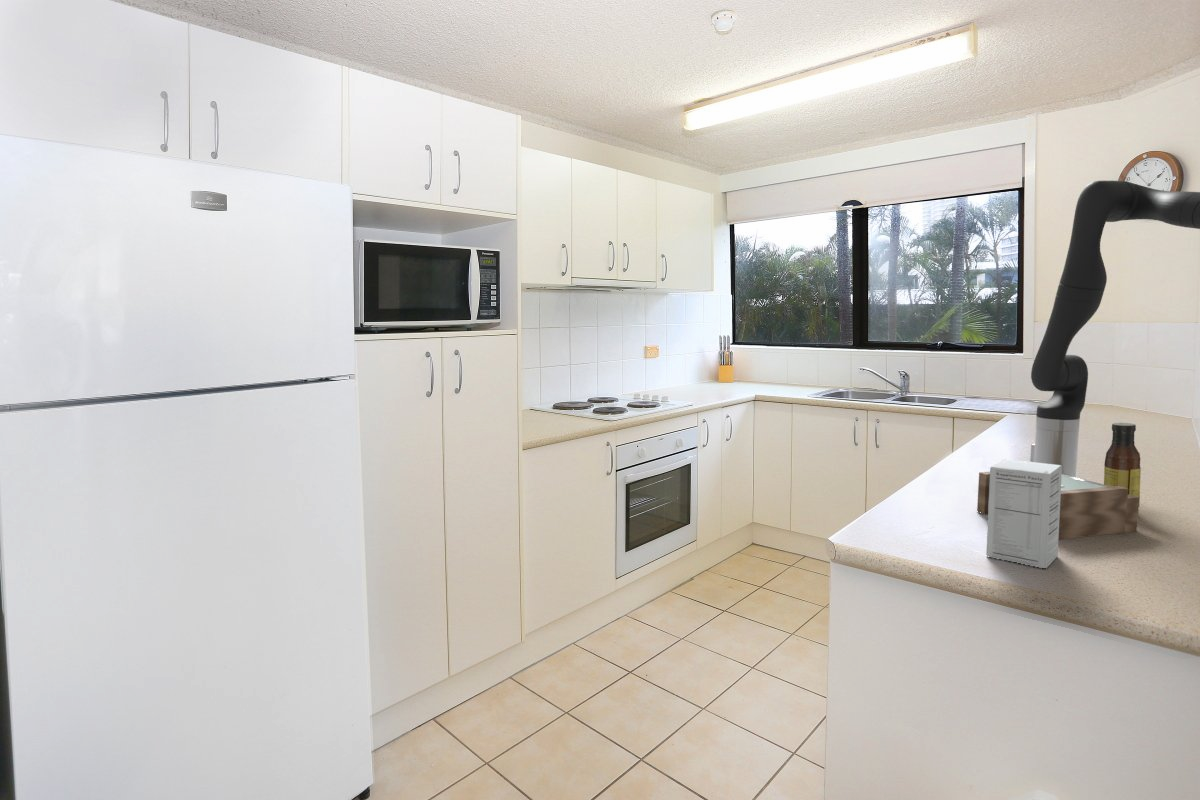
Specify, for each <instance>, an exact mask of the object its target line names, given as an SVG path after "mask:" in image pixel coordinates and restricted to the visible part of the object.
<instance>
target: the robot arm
mask: <svg viewBox="0 0 1200 800" xmlns="http://www.w3.org/2000/svg"><path fill="white" fill-rule="evenodd" d="M1133 220H1134V221H1135V220H1152V221H1153V220H1154V221H1158V222H1162V223H1165V224H1168V225H1170V226H1171V225H1172V226H1176V227H1181V228H1189V229H1198V230H1200V191H1169V190H1161V189H1156V188H1151V187H1147V186H1144V185H1140V184H1138V183H1133V182H1131V181H1128V180H1127V181H1125V180H1095V181H1092V182H1090V183H1088V184H1087V185H1086V186H1084V188H1083V189H1082V191H1081V192H1080V194H1079V197H1078V198H1077V201H1076V205H1075V210H1074V218H1073V221H1072V222H1073V223H1072V229H1071V235H1070V236H1071V237H1070V241H1069V246H1068V249H1067V254H1066V259H1065V262H1064V266H1063V270H1062V274H1061V277H1060V280H1059V282H1058V286H1057V291H1056V293H1055V297H1054V302H1053V306H1052V310H1051V313H1050V317H1049V319H1048V323H1047V327H1046V330H1045V332H1044V335H1043V338H1042V341H1041V343H1040V345H1039V347H1038V350H1037V353H1036V355H1035V358H1034V360H1033V363H1032V366H1031V373H1030V379H1031V382H1032V385H1033V386H1034V387H1035V389H1036V390H1038V391H1040V392H1053V393H1052V395H1051V398H1048V399H1047V401H1044V402H1043V403H1040V404H1039V405H1038V406H1037V408H1036V413H1035V414H1036V415H1035V432H1034V433H1035V434H1034V443H1032V444H1031V445H1030V446H1031V447H1030V458H1029V459H1030V460H1029V462H1036V463H1045V464H1054V465H1062V474H1063V475H1067V476H1071V477H1075V478H1077V468H1078V467H1077V465H1078V464H1077V463H1078V453H1079V438H1080V437H1079V436H1080V421H1081V413H1082V411H1083V409H1084V407H1085V402H1086V396H1087V389H1088V381H1089V368H1088V366H1087V365H1088V364H1087V362H1086V361H1085V360H1084V358H1082V357H1081V356H1080V355H1079V356H1078V355H1076V354H1067V352H1068V350H1069V347H1070V345H1071V342H1072V341H1073V339H1074V338H1075V336H1076V335H1077V334H1078V333H1079V332H1080V330H1081V329H1083V328H1084V326H1085V325H1086V324H1087V323H1088V322H1089V321H1090V320H1091V318H1093V316H1094V315H1095V314H1096V312H1097V311H1098V309H1099V308H1100V306H1101V304H1102V303H1101V302H1102V300H1103V295H1104V292H1105V289H1106V286H1107V282H1108V281H1107V280H1108V277H1107V276H1108V275H1107V271H1106V266H1105V264H1104V260H1103V257H1102V252H1101V240H1102V236H1103V233H1104V228H1105V226H1106V223H1116V222H1120V221H1133Z"/></svg>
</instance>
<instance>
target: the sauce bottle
mask: <svg viewBox="0 0 1200 800" xmlns="http://www.w3.org/2000/svg"><path fill="white" fill-rule="evenodd" d="M1111 430H1112V438H1111V439H1112V440H1111V444H1110V446H1109V448H1108V449H1107V451H1106V452H1105V453H1106V454H1105V458H1104V466H1103V467H1104V471H1103V484H1104V485H1108V486H1112V487H1113V486H1120V487H1124V488H1128V495H1132V496H1136V497H1139V507H1140V506H1141V505H1140V503H1141V502H1140V501H1141V500H1140V499H1141V495H1140V494H1141V471H1142V467H1141V453H1140V452H1139V451H1138V448H1137V447H1136V445H1135V433H1136V430H1137V426H1136V424H1135V423H1128V422H1114V423H1112V424H1111ZM1138 512H1139V509H1138Z"/></svg>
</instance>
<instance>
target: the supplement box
mask: <svg viewBox="0 0 1200 800" xmlns="http://www.w3.org/2000/svg"><path fill="white" fill-rule="evenodd" d="M989 472H990V485H989V504H988V514H987V533H986V535H987V536H986V555H987V556H989V557H993V558H992V559H994V558H998V559H997V560H999V559H1003V560H1002V561H1004V560H1008V561H1012V562H1011V563H1013V562H1017V563H1016V564H1018V563H1021V564H1020V565H1023V564H1025V565H1024V566H1028V565H1030V566H1029V567H1033V566H1035V567H1034V568H1037V567H1039V568H1038V569H1042V568H1046V569H1047V568H1048V567H1049V566H1050V565H1051V564H1052V563H1053V562H1054V561H1055V559H1056V558H1057V557H1058V555H1059V539H1058V538H1059V518H1060V498H1061V477H1062V465H1054V464H1045V463H1036V462H1030V461H1025V460H1016V459H1007V458H1006V459H1003V460H1001V461H999V462H996V463H995V464H994V465H992V466H990V467H989ZM989 557H988V558H989ZM1008 561H1007V562H1008Z"/></svg>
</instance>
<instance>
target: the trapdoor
mask: <svg viewBox="0 0 1200 800" xmlns="http://www.w3.org/2000/svg"><path fill="white" fill-rule="evenodd" d="M1101 487H1112V486H1108V485H1104V483H1099V482H1097V481H1096V482H1095V481H1091V480H1087V479H1084V478H1078V477H1076V478H1075V477H1071V476H1067V475H1063V474H1062V477H1061V491H1063V490H1076V489H1088V488H1101Z"/></svg>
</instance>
